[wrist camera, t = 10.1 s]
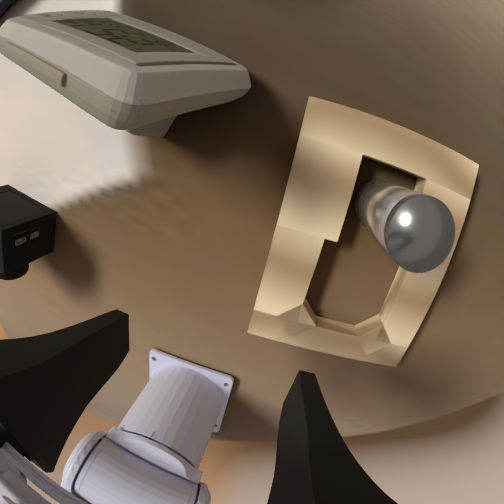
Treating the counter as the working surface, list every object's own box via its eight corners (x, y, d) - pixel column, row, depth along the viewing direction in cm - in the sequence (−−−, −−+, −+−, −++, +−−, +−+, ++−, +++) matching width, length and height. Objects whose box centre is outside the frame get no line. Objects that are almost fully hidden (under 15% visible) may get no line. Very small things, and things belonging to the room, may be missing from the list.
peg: (393, 233, 17) (442, 278, 10) (350, 223, 18) (379, 266, 10) (404, 186, 16) (462, 206, 9) (359, 175, 16) (398, 187, 9)
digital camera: (6, 227, 24) (-37, 244, 17) (8, 184, 22) (-39, 196, 15) (54, 261, 23) (5, 288, 17) (57, 211, 22) (0, 231, 15)
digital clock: (268, 91, 16) (225, 13, 6) (173, 184, 19) (60, 214, 9) (136, -9, 14) (60, -60, 4) (70, 67, 17) (-21, 51, 7)
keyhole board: (391, 355, 20) (395, 367, 19) (250, 321, 21) (247, 332, 20) (467, 163, 14) (478, 164, 13) (308, 101, 16) (309, 96, 14)
